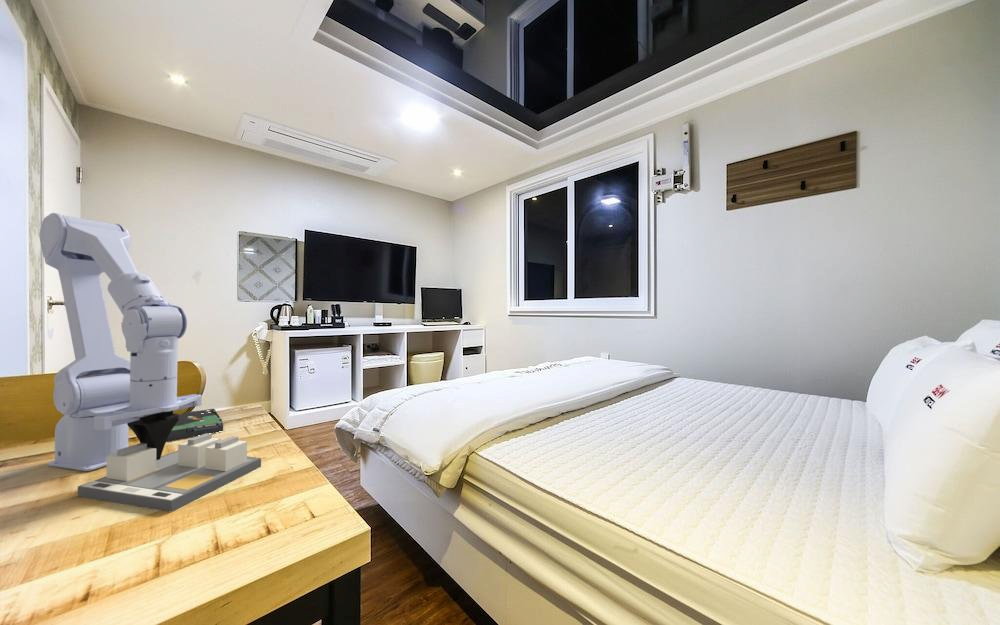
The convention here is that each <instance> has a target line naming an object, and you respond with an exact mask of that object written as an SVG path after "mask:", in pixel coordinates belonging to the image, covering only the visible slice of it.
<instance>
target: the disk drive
mask: <svg viewBox="0 0 1000 625" xmlns="http://www.w3.org/2000/svg"><path fill="white" fill-rule="evenodd" d="M208 412H211V413H208ZM201 413H204V414H201ZM178 414H179V420H178V422H177V423H176V424H175V426H174V427H173V429H172V431H171V432H170V434H169V436H168V438H167V441H166V443H167V442H172V441H178V440H183V439H184V440H185V439H189V438H188V437H190V438H194V437H193V436H196V437H197V436H198V435H203V434H206V433H207V434H209V433H213V432H219V431H223V432H224V423H223V420H222V418H221V417H220V415H219V414H218V412H217V411H216V409H215V408H207V409H202V410H201V409H200V410H193V411H186V412H183V413H178ZM219 433H220V432H219ZM213 434H214V433H213Z"/></svg>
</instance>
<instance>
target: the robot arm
mask: <svg viewBox="0 0 1000 625" xmlns="http://www.w3.org/2000/svg"><path fill="white" fill-rule="evenodd" d="M39 242H40V246H41V253H42V257H43V258H44V263H45V264H46V265H48V266H49V267H52V268H54V269H55V270H57V272H58V277H59V280H60V285H61V292H62V295H63V300H64V302H63V303H64V305H65V306H64V307H65V311H66V317H67V321H68V322H67V323H68V327H69V333H70V338H71V343H72V348H73V353H74V358H75V359H74V360H73V361H71V362H70V363H69V364H67V365H65V366H64V367H63V368H61V369H59V371H58V372H56V374H55V375H54V378H53V381H54V382H53V383H54V389H53V395H52V396H53V404H54V406H55V408H56V410H57V412H59V413H61V414H62V415H63V416H62V417H61V418H60V419H59V420H58V422H57V424H56V425H55V428H54V429H55V430H54V460H53V461H49V462H47V463H46V465H47V466H50V467H56V468H62V469H69V470H77V471H83V472H90V471H94V470H97V469H100V468H103V467H107V455H110V454H113V453H116V452H117V450H120V449H123V448H126V447H129V437H130V436H129V432H130V431H129V430H131V431H132V432H133V434H134V435H135V436H136V437H137V439H138V441H139V443H146V444H147V447H148V448H156V461H157V460H159V459H160V458H161V456H163V455H162V454H163V451H164V448H165V445H166V443H167V442H168V441H167V438H168V436H169V434H170V432H171V431H172V429H173V427H174V426H175V424H176V423H177V422H178V420H179V414H180V413H174V412H175V411H180V410H183V409H188V408H191V407H200V406H202V401H203V400H202V394H195V393H194V394H193V393H192V394H188V395H183V396H182V395H180V396H178V394H177V393H178V353H179V347H178V345H179V339H181V338H182V337H183V336H184V335H185V333H186V331H187V326H188V320H187V315H186V312H185V311H184V309H183V308H182V307H181V306H180V305H176V304H174V303H173V302H170V301H169V302H168V301H167V300H166V299H165V297H164V296H163V295H162V293H161V291H160V290H159V289H158V287H157V285H156V284H155V283H154V281H153V280H152V279H151V277H150V276H148V275H146V274H144V273H140V272H138V270H137V267H136V266H135V264H134V260H133V259H132V257H131V254H130V253H129V249H130V245H131V236H130V232H129V230H128V229H127V227H125V225H123V224H120V223H110V222H106V221H98V220H93V219H86V218H81V217H75V216H69V215H64V214H63V215H62V214H60V213H58V212H51V213H49V214H48V215H46V216H45V217H44V218H43V219H42V221H41V226H40V229H39ZM103 273H104V274H105V275H106V276H107V277H108V278H109V280H110V282H109V283H108V285H107V292H108V293H109V295H110V296H111V298H112V299H113V301H114V303H115V305H116V307H117V308H118V309H119V310H120V313H121V314H122V322H120V324H121V331H122V334H123V336H124V340H125V348H126V351H127V352H130V353H129V354H130V355H129V356H130V357H129V358H130V359H128V358H125V357H123V356H120V355H118V354H116V350H115V349H116V348H115V346H114V345H115V344H114V338H113V333H112V329H111V325H110V320H109V319H110V318H109V316H108V311H107V310H108V309H107V305H106V301H105V299H106V298H105V295H104V291H103V286H102V282H101V275H102V274H103ZM166 441H167V442H166Z"/></svg>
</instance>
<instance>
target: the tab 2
mask: <svg viewBox="0 0 1000 625" xmlns="http://www.w3.org/2000/svg"><path fill="white" fill-rule="evenodd" d="M221 440H222V438H220V437H218V438H217V437H213V434H207V433H206V434H203V435H200V436H196V437H190V438H187V441H184V442H181V443H179V444H178V446H177V448H178V449H177V451H178V465H181V466H188V467H196V468H198V467H201V466H203V465H205V452H206V447H209V446H211V445H214V444H215V443H216V442H219V441H221Z"/></svg>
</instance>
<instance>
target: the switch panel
mask: <svg viewBox="0 0 1000 625" xmlns="http://www.w3.org/2000/svg"><path fill="white" fill-rule="evenodd" d="M260 467H262V458H261V457H255V456H248V455H247V462H245V463H242V464H240V465H238V466H236V467H234V468H232V469H230V470H228V471H218V470H211V469H205V465H203V466H201V467H198V468H196V467H188V466H181V465H178V450H176V451H173V452H170V453H166V454H164V455H161V458H160V459H159V460H157V461H156V470H154V471H152V472H149V473H147V474H144V475H141V476H139V477H136V478H134V479H131V480H129V481H123V480H116V479H109V478H106V476H104V477H100V478H98V479H95V480H91V481H89V482H86V483H83V484H80V485H78V486H77V497H78V498H84V499H90V500H96V501H102V502H109V503H116V504H120V505H127V506H134V507H140V508H145V509H152V510H157V511H158V510H159V511H163V512H171V513H172V512H174V511H176V510H178V509H180V508H182V507H185V505H189V504H190V503H192V502H194V501H195V500H197V499H200V498H202V497H204V496H206V495H208V494H210V493H212V492H213V491H215V490H218V489H219V488H222V487H223V486H225V485H227V484H229V483H231V482H234V481H235V480H237V479H239V478H241V477H243V476H245V475H246V474H249V473H251V472H253V471H254V470H256V469H258V468H260Z"/></svg>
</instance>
